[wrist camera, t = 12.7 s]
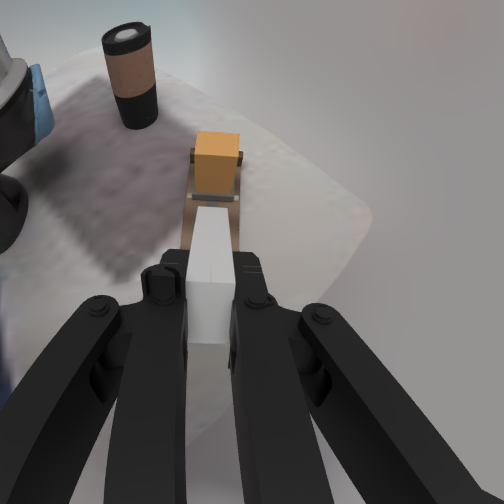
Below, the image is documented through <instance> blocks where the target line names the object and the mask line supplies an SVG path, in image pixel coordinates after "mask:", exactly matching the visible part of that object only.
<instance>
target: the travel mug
mask: <svg viewBox="0 0 504 504" xmlns="http://www.w3.org/2000/svg"><path fill="white" fill-rule="evenodd" d="M102 45H103V50H104V55H105V60H106V65H107V69H108V73H109V78H110V82H111V86H112V90H113V93H114V97H115V100H116V103H117V106H118V109H119V112H120V115H121V118H122V121H123V123H124V125H125V126H126V127H127V128H129V129H142V128H145V127H147V126H149V125H151V124H152V123H153V122H154V121H155V120H156V118H157V116H158V106H157V94H156V80H155V71H154V62H153V52H152V43H151V28H150V26H146V25H144V24H143V23H142V22H131V23H126V24H123V25H120V26H117V27H115V28H113V29H111V30H109V31H108V32H107V33H105V34H104V35H103V37H102Z"/></svg>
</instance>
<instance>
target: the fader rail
mask: <svg viewBox="0 0 504 504" xmlns="http://www.w3.org/2000/svg"><path fill="white" fill-rule="evenodd" d="M194 153H195V148H191V151H190V169H189V177H188V184H187V192H186V200H185V208H184V217H183V227H182V237H181V249H182V250H190V249H191V243H192V237H193V232H194V226H195V221H196V215H197V210H198V206H201V207H219V208H227V209H228V219H229V228H230V238H231V247H232V251H239V209H240V174H241V164H242V159H243V152H242V151H239V156H238V162H237V166H236V171H235V189H234V200H233V202H229V201H214V200H196V199H192V188H193V180H194V172H195V160H194Z"/></svg>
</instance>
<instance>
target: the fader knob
mask: <svg viewBox="0 0 504 504" xmlns="http://www.w3.org/2000/svg"><path fill="white" fill-rule="evenodd" d="M238 156H239V134H234V133H221V132H206V131H198V134H197V140H196V147H195V153H194V160H195V172H194V180H193V188H192V199H196V200H214V201H229V202H233V200H234V189H235V171H236V166H237V162H238Z"/></svg>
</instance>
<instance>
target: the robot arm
mask: <svg viewBox="0 0 504 504" xmlns="http://www.w3.org/2000/svg"><path fill="white" fill-rule="evenodd" d="M54 125H55V120H54V117H53V113H52V110H51V106H50V103H49V99H48V95H47V92H46V88H45V84H44V80H43V76H42V72H41V68H40V65H39V64H35V65H31V66H30V67H29V68H28V66H27V63H26V62H25V60H24V59H22V58H11V57H10V55H9V53H8V51H7V49H6V47H5V44H4V42H3V40H2V37H1V35H0V254H1V253H2V252H4V251H5V250H7V249H8V248H9V247H10V246H11V245H12V243H13V242H14V241H15V239H16V238H17V236H18V234H19V232H20V231H21V228H22V226H23V224H24V221H25V217H26V213H27V208H28V196H27V192H26V189H25V188H24V186H23V185H22V184H21V183H20V182H19V181H18V180H17V179H15V178H13V177H10V176H7V175H4V174H1V172H2V171H4V170H5V169H6V168H7V167H8V166H10V165H11V164H12V163H13V162H14V161H16V160H17V159H18V158H19V157H21V156H22V155H23V154H25V153H26V152H27V151H29V150H30V149H31V148H33V147H34V146H36V145H37V144H38V142H40V141H41V140H42V139H43V138H45V137H46V136H47V135H49V134H50V133H51V131H52V130H53V128H54ZM141 282H142V290H143V300H142V301H140V302H137V303H134V304H129V305H122V306H119V304H118V302H117V301H116V299H115V298H113V297H111V296H107V295H98V296H93V297H91V298H88V299H87V300H86V301H84V302H83V303H82V304H81V305H80V306H79V308H78V309H77V310H76V311H75V312H74V313H73V315H72V316H71V317H70V318H69V319H68V320H67V322H66V323H65V324H64V325H63V326H62V328H61V329H60V330H59V331H58V332H57V334H56V335H55V336H54V337H53V339H52V340H51V341H50V342H49V344H48V345H47V346H46V347H45V349H44V350H43V351H42V353H41V354H40V355H39V357H38V358H37V359H36V360H35V362H34V363H33V365H32V366H31V367H30V369H29V370H28V371H27V373H26V374H25V376H24V377H23V378H22V380H21V381H20V383H19V384H18V386H17V387H16V388H15V390H14V391H13V393H12V394H11V396H10V397H9V399H8V401H7V402H6V404H5V405H4V407H3V408H2V410H1V412H0V504H69V502H70V499H71V497H72V494H73V492H74V489H75V487H76V485H77V482H78V480H79V477H80V475H81V473H82V470H83V468H84V466H85V464H86V461H87V459H88V457H89V455H90V452H91V450H92V448H93V446H94V444H95V441H96V439H97V437H98V435H99V433H100V431H101V429H102V427H103V425H104V422H105V420H106V418H107V416H108V414H109V412H110V410H111V408H112V406H113V404H114V402H115V400H116V398H117V402H116V408H115V413H114V419H113V424H112V430H111V437H110V444H109V451H108V459H107V467H106V477H105V488H104V503H103V504H187V500H186V472H185V410H186V379H187V358H188V351H187V341H188V343H202V344H229V341H230V354H229V364H228V369H230V370H231V382H232V394H233V405H234V415H235V425H236V435H237V444H238V453H239V462H240V470H241V479H242V487H243V495H244V503H245V504H334V500H333V497H332V493H331V489H330V486H329V482H328V478H327V475H326V471H325V467H324V464H323V460H322V457H321V453H320V449H319V446H318V442H317V439H316V435H315V431H314V428H313V424H312V421H311V417H310V414H311V416H312V418H313V419H314V421H315V423H316V424H317V426H318V428H319V429H320V431H321V433H322V434H323V436H324V437H325V439H326V441H327V442H328V444H329V446H330V447H331V449H332V451H333V452H334V454H335V456H336V457H337V459H338V460H339V462H340V464H341V465H342V467H343V468H344V470H345V472H346V473H347V475H348V476H349V478H350V479H351V481H352V482H353V484H354V486H355V487H356V489H357V490H358V492H359V493H360V495H361V496H362V498H363V500H364V501H365V503H366V504H504V501H503V500H501V499H499V498H497V497H495V496H493V495H491V494H489V493H488V492H485V491H484V490H481V488H480V487H479V485H478V484H477V483H476V481H475V480H474V479H473V477H472V476H471V475H470V473H469V472H468V470H467V469H466V468H465V466H464V465H463V464H462V462H461V461H460V460H459V458H458V457H457V456H456V454H455V453H454V452H453V450H452V449H451V448H450V447H449V445H448V444H447V443H446V441H445V440H444V439H443V438H442V436H441V435H440V434H439V432H438V431H437V430H436V429H435V427H434V426H433V425H432V424H431V422H430V421H429V420H428V419H427V417H426V416H425V415H424V414H423V412H422V411H421V410H420V409H419V407H418V406H417V405H416V404H415V402H414V401H413V400H412V399H411V397H410V396H409V395H408V394H407V393H406V391H405V390H404V389H403V388H402V386H401V385H400V384H399V383H398V382H397V380H396V379H395V378H394V377H393V376H392V375H391V373H390V372H389V371H388V370H387V368H386V367H385V366H384V365H383V364H382V362H381V361H380V360H379V359H378V358H377V357H376V355H375V354H374V353H373V352H372V350H371V349H369V347H368V346H367V345H366V343H365V342H364V341H363V340H362V339H361V338H360V336H359V335H358V334H357V333H356V332H355V331H354V329H353V328H352V327H351V326H350V325H349V324H348V323H347V321H346V320H345V319H344V318H343V317H342V316H341V315H340V313H339V312H338V311H337V310H335V309H334V308H332V307H331V306H328V305H326V304H321V303H311V304H309V305H306V306H305V307H304V308H303V310H302V312H297V311H293V310H289V309H285V308H283V307H281V306H279V305H278V303H277V301H276V299H275V298H274V297H273V296H272V295H271V294H269V293H268V290H267V286H266V283H265V279H264V275H263V273H262V268H261V264H260V261H259V258H258V257H257V256H256V255H255V254H254V253H253V252H238V251H232V247H231V238H230V228H229V219H228V209H227V208H219V207H201V206H198V210H197V215H196V221H195V226H194V232H193V237H192V243H191V249H190V250H182V249H169V250H167V251H166V252H165V253H164V254H163V255H162V258H161V261H160V264H157V265H153V266H150V267H148V268H147V269H145V270H144V271H143V272H142V273H141ZM117 396H118V397H117ZM309 412H310V414H309Z"/></svg>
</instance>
